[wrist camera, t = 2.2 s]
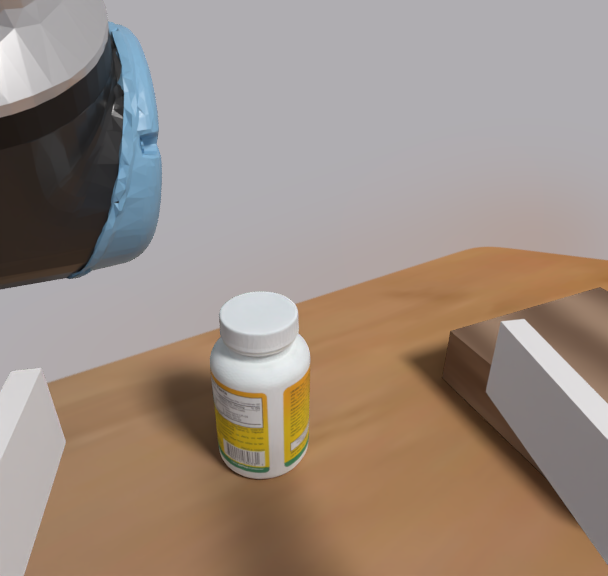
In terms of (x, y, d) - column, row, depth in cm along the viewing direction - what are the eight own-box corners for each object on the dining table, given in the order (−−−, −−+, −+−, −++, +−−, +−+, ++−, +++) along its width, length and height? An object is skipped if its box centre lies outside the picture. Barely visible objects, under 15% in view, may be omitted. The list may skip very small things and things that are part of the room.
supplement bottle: (229, 493, 28) (214, 352, 23) (211, 424, 32) (195, 294, 27) (322, 467, 29) (326, 329, 25) (293, 405, 34) (291, 277, 29)
